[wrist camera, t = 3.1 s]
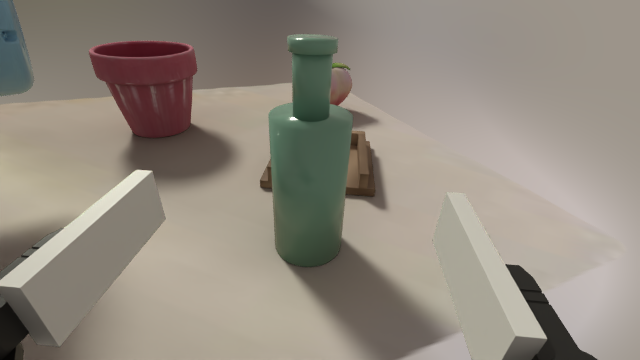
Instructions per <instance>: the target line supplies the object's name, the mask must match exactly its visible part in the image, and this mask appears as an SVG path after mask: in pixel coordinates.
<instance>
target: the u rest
mask: <svg viewBox="0 0 640 360" xmlns="http://www.w3.org/2000/svg"><path fill="white" fill-rule="evenodd" d="M260 187H264V188H272V173H271V159H270V161H269V163H268V165H267V167H266V169H265V171H264V173H263V175H262V177H261V179H260ZM346 194H351V195H363V196H374V194H375V183H374V175H373V166H372V158H371V150H370V141H366V139H365V132H363V131H352V134H351V144H350V155H349V165H348V175H347V185H346Z"/></svg>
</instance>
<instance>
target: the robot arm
mask: <svg viewBox="0 0 640 360" xmlns="http://www.w3.org/2000/svg"><path fill="white" fill-rule="evenodd" d="M33 82H34V76H33V71H32V66H31V62H30V58H29V54H28V50H27V46H26V43H25V40H24V36H23V32H22V30H21V26H20V22H19V19H18V16H17V12H16V9H15V6H14V3H13V0H0V96H6V95H14V94H21V93H24V92H26V91H28V90H29V89H30V88H31V87H32V86H33ZM165 219H166V218H165V214H164V211H163V207H162V203H161V200H160V196H159V193H158V189H157V185H156V182H155V178H154V174H153V171H148V170H135V171H134V172H133V173H132V174H130V175H129V176H128V177H127V178H125V179H124V180H123V181H122V182H120V183H119V184H118V185H117V186H116V187H114V188H113V189H112V190H111V191H109V192H108V193H107V194H106V195H104V196H103V197H102V198H101V199H100V200H98V201H97V202H96V203H95V204H93V205H92V206H91V207H90V208H88V209H87V210H86V211H85V212H84V213H82V214H81V215H80V216H79V217H77V218H76V219H75V220H74V221H72V222H71V223H70V224H69V225H67V226H66V227H65V228H61V229H59V230H57V231H55V232H53V233H51V234H49V235H47V236H45V237H44V238H43V239H41V240H40V241H39V242H38V243H36V244H35V245H34V246H33V247H32V249H29V250H27V251H26V252H25V253H24V254H22V255H21V258H20V257H19V258H17V259H16V260H15V261H13V262H12V263H11V264H10V265H8V266H7V267H6V268H5V269H3V270H2V271H1V272H0V360H23V352H24V350H23V346H22V344H21V343H20V342H21V341H22V340H23V339H24V338H25V336H26V335H27V334H28V333H29V334H30V336H31V337H32V338H33V340H34V341H35V343H36V344H37V345H46V346H55V347H60V346H61V345H62V344H63V342H64V341H65V340H66V339H67V338H68V336H69V335H70V334H71V333H72V332H73V330H74V329H75V328H76V327H77V326H78V324H79V323H80V322H81V321H82V319H83V318H84V317H85V316H86V315H87V313H88V312H89V311H90V310H91V309H92V307H93V306H94V305H95V304H96V303H97V301H98V300H99V299H100V298H101V297H102V295H103V294H104V293H105V292H106V291H107V289H108V288H109V287H110V286H111V285H112V283H113V282H114V281H115V280H116V278H117V277H118V276H119V275H120V274H121V272H122V271H123V270H124V269H125V268H126V266H127V265H128V264H129V263H130V262H131V260H132V259H133V258H134V257H135V256H136V254H137V253H138V252H139V251H140V250H141V248H142V247H143V246H144V245H145V243H146V242H147V241H148V240H149V239H150V237H151V236H152V235H153V234H154V233H155V231H156V230H157V229H158V228H159V227H160V225H161V224H162V223H163V222H164V221H165ZM432 241H433V244H434V247H435V250H436V253H437V256H438V259H439V262H440V265H441V268H442V271H443V274H444V277H445V280H446V283H447V286H448V289H449V292H450V295H451V298H452V301H453V304H454V307H455V310H456V313H457V316H458V319H459V322H460V325H461V328H462V331H463V334H464V337H465V341H466V343H467V347H468V350H469V353H470V356H471V359H472V360H597V359H596V358H594V357H593V356H592V355H590V354H588V353H585V352H583V351H581V350H580V349H579V348H578V347H577V345H576V344H575V342H574V340H573V339H572V337H571V336H570V334H569V333H568V331H567V329H566V328H565V326H564V325H563V323H562V322H561V320H560V319H559V317H558V315H557V314H556V312H555V311H554V309H553V308H552V306H551V305H549V302H548V300H547V298H546V297H545V295H544V294H542V291H541V289H540V288H539V286H538V284H537V283H536V281H535V280H534V278H533V277H532V276H531V275H530V274H529V273H527V272H526V271H525V270H524V269H523V268H522V267H521V266H519V265H507V264H504V262H503V260H502V258H501V257H500V255H499V253H498V251H497V250H496V248H495V246H494V244H493V243H492V241H491V239H490V237H489V236H488V234H487V232H486V230H485V229H484V227H483V225H482V223H481V222H480V220H479V218H478V216H477V215H476V213H475V211H474V209H473V208H472V206H471V204H470V202H469V201H468V199H467V197H466V195H465V194H464V193H453V192H446V195H445V198H444V202H443V205H442V209H441V212H440V216H439V219H438V223H437V226H436V230H435V233H434V237H433V240H432Z"/></svg>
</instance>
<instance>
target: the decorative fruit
mask: <svg viewBox="0 0 640 360" xmlns="http://www.w3.org/2000/svg"><path fill="white" fill-rule="evenodd" d="M342 67H343V68H342ZM344 68H347V69H349V70H350V68H349V67H348V66H346V65H344V64H342V63H333V64H332V78H331V96H330V104H333V105H336V106H338V105H339V104H340V103H341V102H343V101H344V100H345V98H346V97H347V96H348V94H349V93H350V91H351V88H352V80H351V77H350V75H349V73H348V72H347V71H346V70H345V69H344Z"/></svg>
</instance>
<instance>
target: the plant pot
mask: <svg viewBox="0 0 640 360" xmlns="http://www.w3.org/2000/svg"><path fill="white" fill-rule="evenodd" d="M89 54H90V58H91V62H92V65H93V68H94V71H95V74H96V76H97V78H99V79H100V80H102V81H105V82H106V84H107V86H108V88H109V90H110V92H111V93H112V96H113V97H114V99H115V101H116V103H117V105H118V107H119V108H120V110H121V112H122V114H123V116H124V117H125V119H126V121H127V122H128V124H129V126H130V128H131V130H132V132H133V133H134V134H136V135H138V136H141V137H148V138H158V137H167V136H172V135H176V134H179V133H181V132H183V131H185V130H187V129H188V128H189V127H190V123H191V107H192V78H193V77H192V76H193V75H194V74H196V72H197V64H196V58H195V53H194V49H193V47H192V46H190V45H188V44H183V43H177V42H166V41H126V42H116V43H108V44H103V45H98V46H95V47H92V48H91V49H90V50H89Z"/></svg>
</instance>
